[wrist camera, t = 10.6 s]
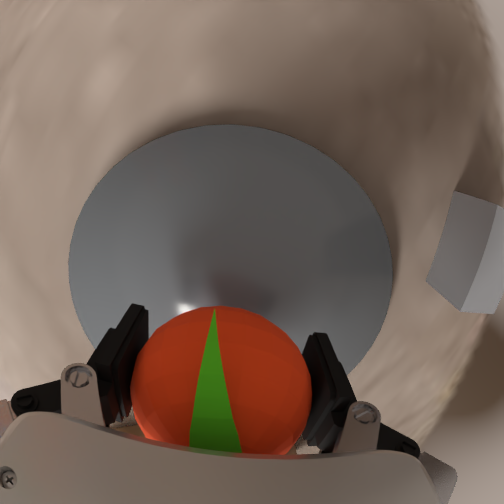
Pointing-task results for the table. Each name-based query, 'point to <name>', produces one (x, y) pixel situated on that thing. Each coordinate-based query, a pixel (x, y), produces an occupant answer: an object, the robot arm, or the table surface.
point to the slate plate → (234, 238)
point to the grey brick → (470, 255)
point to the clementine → (222, 383)
